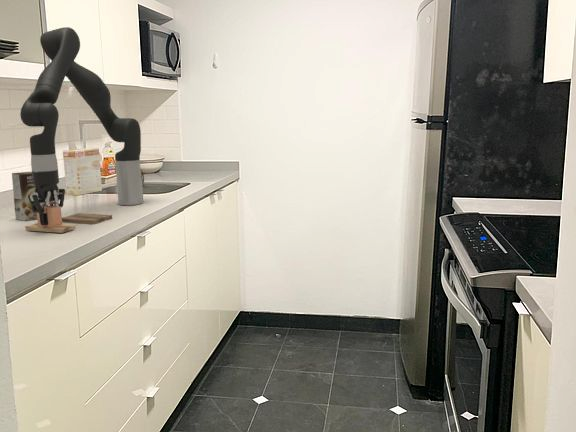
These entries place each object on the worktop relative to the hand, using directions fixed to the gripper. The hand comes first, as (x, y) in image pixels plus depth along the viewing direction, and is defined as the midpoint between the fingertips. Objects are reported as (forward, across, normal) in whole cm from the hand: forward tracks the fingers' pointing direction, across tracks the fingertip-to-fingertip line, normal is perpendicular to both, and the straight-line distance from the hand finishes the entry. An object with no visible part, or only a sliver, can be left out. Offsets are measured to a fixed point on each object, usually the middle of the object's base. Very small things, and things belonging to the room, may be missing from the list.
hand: (49, 223), depth 184 cm
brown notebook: (+2, -17, 0) cm, 17 cm away
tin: (+3, -90, -30) cm, 95 cm away
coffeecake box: (+3, -70, -43) cm, 82 cm away
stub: (+2, 0, 0) cm, 2 cm away
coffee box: (+3, -15, -21) cm, 26 cm away
